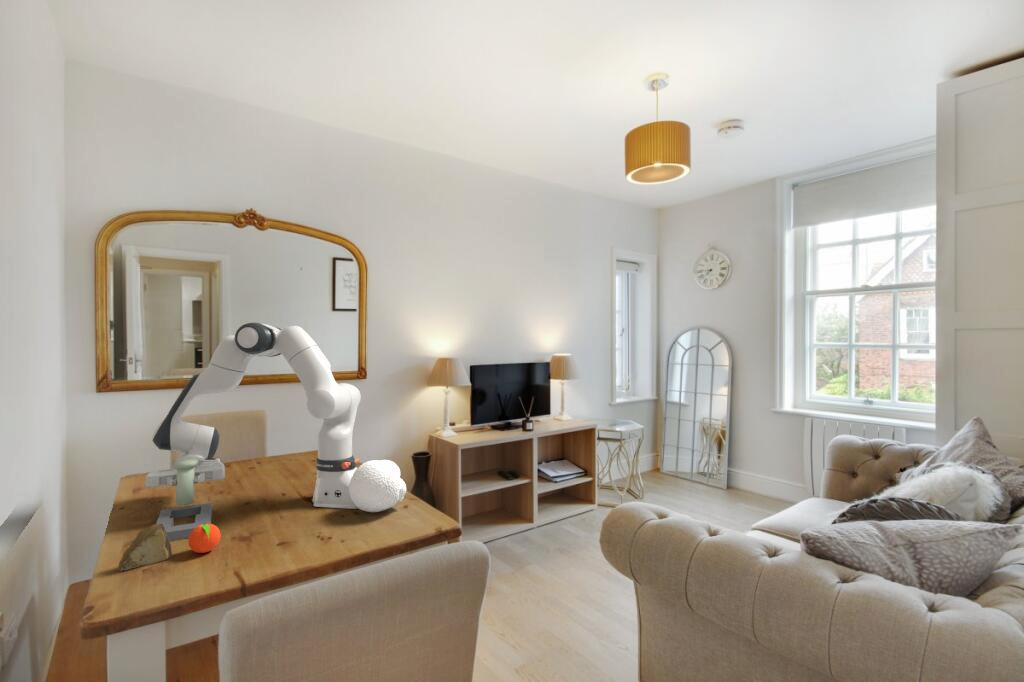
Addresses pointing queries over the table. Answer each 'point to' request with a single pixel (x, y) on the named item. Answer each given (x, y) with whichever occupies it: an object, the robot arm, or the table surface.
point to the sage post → (185, 481)
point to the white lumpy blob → (376, 486)
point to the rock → (147, 548)
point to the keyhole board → (184, 531)
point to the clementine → (204, 538)
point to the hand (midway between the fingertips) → (185, 481)
